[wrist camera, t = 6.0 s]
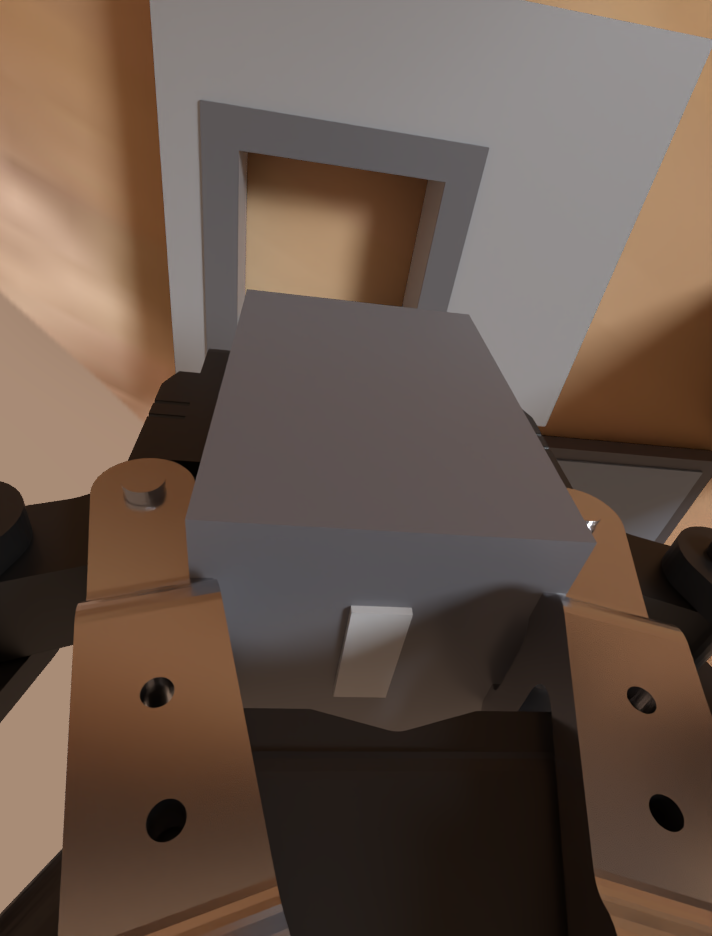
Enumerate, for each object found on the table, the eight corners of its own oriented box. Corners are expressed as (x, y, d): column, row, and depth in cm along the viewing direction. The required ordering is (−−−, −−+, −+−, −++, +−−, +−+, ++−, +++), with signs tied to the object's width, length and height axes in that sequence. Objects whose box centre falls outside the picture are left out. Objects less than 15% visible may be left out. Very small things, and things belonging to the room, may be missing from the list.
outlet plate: (167, -63, 14) (143, -78, 12) (667, 38, 16) (717, 39, 14) (189, 360, 21) (176, 393, 19) (526, 394, 23) (546, 428, 21)
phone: (436, 524, 28) (440, 538, 27) (468, 428, 24) (474, 442, 23) (650, 538, 29) (659, 552, 28) (711, 450, 26) (723, 463, 25)
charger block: (247, 289, 10) (182, 526, 5) (468, 314, 10) (601, 550, 6) (244, 469, 12) (199, 739, 8) (422, 481, 13) (484, 740, 8)
